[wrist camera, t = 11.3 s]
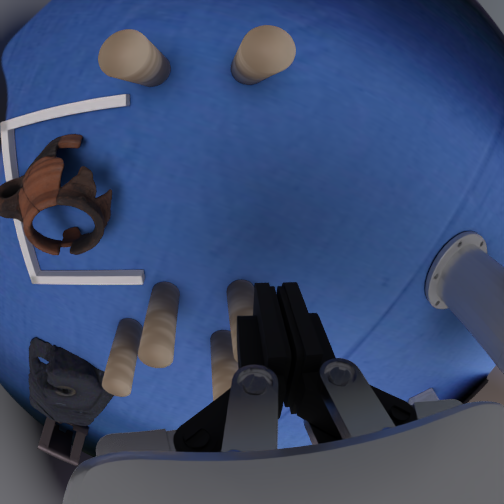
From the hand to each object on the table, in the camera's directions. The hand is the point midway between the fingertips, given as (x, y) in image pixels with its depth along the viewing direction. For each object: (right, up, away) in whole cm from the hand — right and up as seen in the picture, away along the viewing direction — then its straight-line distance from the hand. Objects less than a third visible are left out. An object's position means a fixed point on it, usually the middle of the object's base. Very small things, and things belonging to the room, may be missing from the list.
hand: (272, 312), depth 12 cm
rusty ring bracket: (-19, +9, +12) cm, 24 cm away
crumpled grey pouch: (-31, -20, +25) cm, 45 cm away
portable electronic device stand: (-38, -32, +31) cm, 58 cm away
